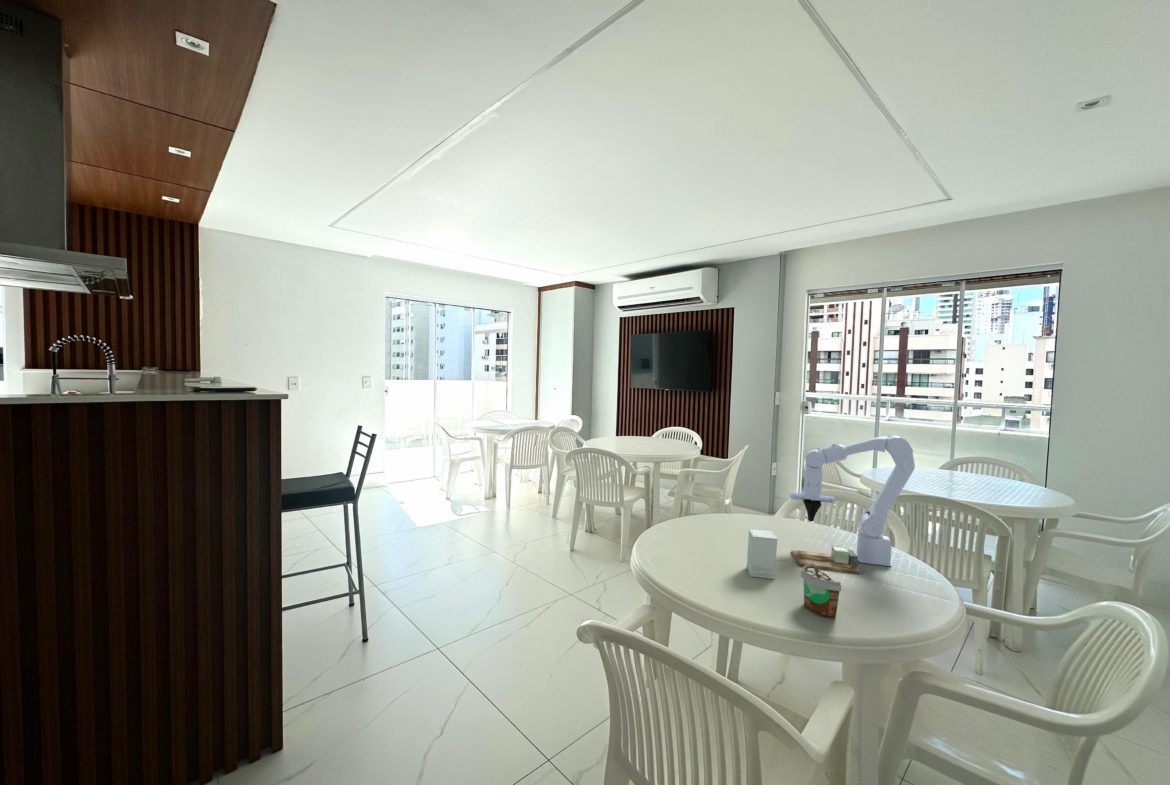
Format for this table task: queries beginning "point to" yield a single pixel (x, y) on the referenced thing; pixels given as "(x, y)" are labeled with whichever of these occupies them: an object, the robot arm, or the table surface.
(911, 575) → the table surface
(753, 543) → the supplement box
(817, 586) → the food container
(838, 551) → the block
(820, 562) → the track board
